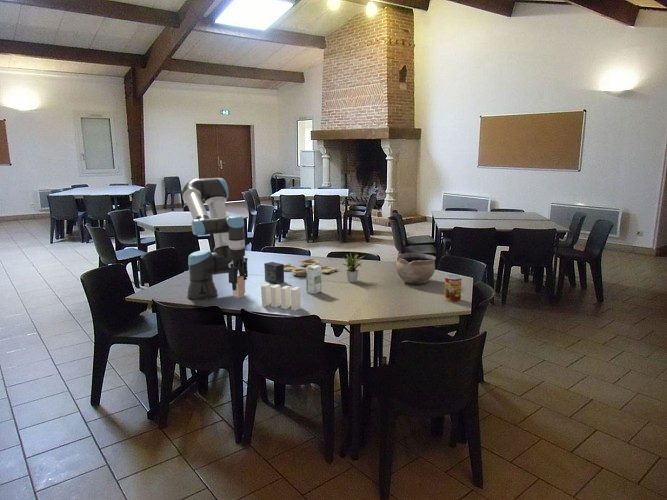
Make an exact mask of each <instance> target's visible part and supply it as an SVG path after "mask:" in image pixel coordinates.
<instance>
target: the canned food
mask: <svg viewBox="0 0 667 500" xmlns="http://www.w3.org/2000/svg"><path fill="white" fill-rule="evenodd" d="M444 299H445V300H446V302H447V301H448V302H447V303H452V302H456V303H460V302H461V299H462V276H461V275H457V274H447V275H445V276H444ZM445 300H444V301H445ZM459 301H460V302H459Z"/></svg>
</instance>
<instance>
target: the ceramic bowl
mask: <svg viewBox="0 0 667 500" xmlns="http://www.w3.org/2000/svg"><path fill="white" fill-rule="evenodd" d="M396 259H397V260H396V264H395V270H396V273H397V274H398V276H399V278H400V279H401V280H402V281H403V282H405V283H407V284H411V285H421V284H424V283H427V281H429V280H430V279H432V277H433V276H434V274H435V271H436V264H435V263H436V262H435V261H436V259H437V257H436V256H434V255H432V254H427V253H421V252H419V253H418V252H417V253H415V252H414V253H413V252H411V253H410V252H405V253H399V254H397V255H396Z"/></svg>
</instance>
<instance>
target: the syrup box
mask: <svg viewBox="0 0 667 500" xmlns="http://www.w3.org/2000/svg"><path fill="white" fill-rule="evenodd" d="M321 266H322V265H320V264H317V265H315V264H313V265H310V266H307V267H306V266H305V268H306V276H305V277H306V293H308V294H312V295H316V294H319V293H322V273H321Z"/></svg>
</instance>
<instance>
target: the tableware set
mask: <svg viewBox="0 0 667 500" xmlns="http://www.w3.org/2000/svg"><path fill="white" fill-rule="evenodd" d="M298 262H299V263H301V264H302V265H305V267H302V266H301V267H300V266H298V265H293V264H292V263H286V264H284V272H292V273H293V274H294V275H295V276H297V277H304V276H305V277H306V266H310V265H313V264H315V265H320V261H319V260H316V259H315V258H314V257H312V258H306V259H301V260H298ZM320 266H321V274H331V273H334V272H336V271H337V270H339V267H331V266H329V265H320Z"/></svg>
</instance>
